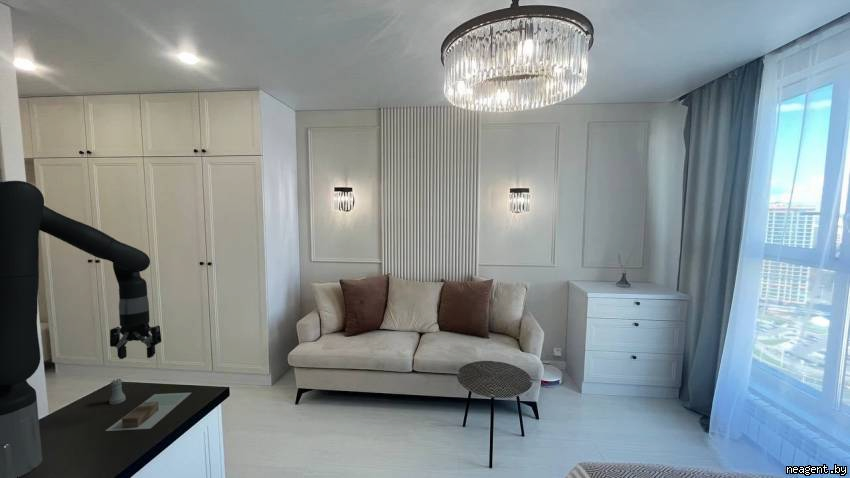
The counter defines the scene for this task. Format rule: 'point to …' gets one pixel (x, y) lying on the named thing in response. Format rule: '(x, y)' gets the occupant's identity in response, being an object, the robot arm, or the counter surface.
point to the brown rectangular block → (140, 415)
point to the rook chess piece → (117, 392)
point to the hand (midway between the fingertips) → (136, 357)
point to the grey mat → (165, 406)
